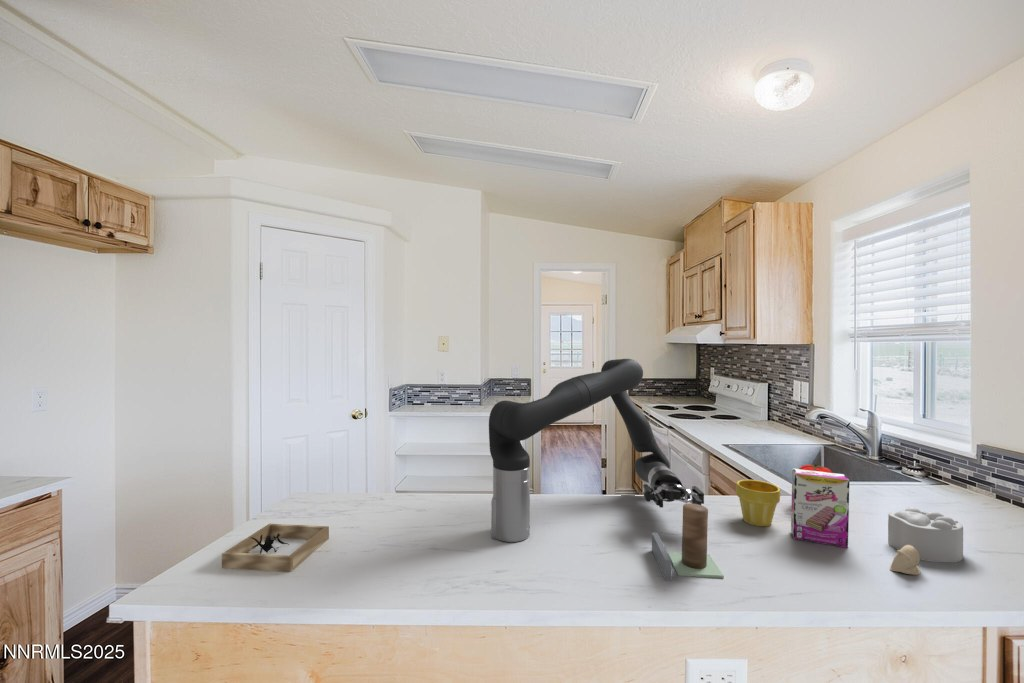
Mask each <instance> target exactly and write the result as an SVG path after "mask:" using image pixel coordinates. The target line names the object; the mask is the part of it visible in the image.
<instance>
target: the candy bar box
mask: <svg viewBox="0 0 1024 683" xmlns="http://www.w3.org/2000/svg"><path fill="white" fill-rule="evenodd" d="M849 509H850V479H849V478H848V477H847V476H846V475H845V474H844V473H835V472H833V473H828V472H819V471H811V470H802V469H799V468H792V469H791V510H790V512H791V514H790V518H791V520H790V524H791V525H790V531H791V534H792V538H793V539H794V540H799V541H806V542H811V543H817V544H823V545H828V546H835V547H841V548H846V549H847V548H848V547H849V520H850V518H849V517H850V515H849V514H850V510H849Z"/></svg>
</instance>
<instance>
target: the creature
mask: <svg viewBox="0 0 1024 683" xmlns="http://www.w3.org/2000/svg"><path fill="white" fill-rule="evenodd" d="M271 529H272V528H271ZM270 533H271V532H270ZM279 536H280V535H279V533H278V534H277V537H275V536H273V537H271V536H270V535H269V536H267V537H266V540H265V541H264V542H263V543H261V542H262V535H261V536H260V542H259V541H258V540H257V539H255V538H253V537H251V538H252V539H254V540H255V541H256V542H257V543H258V544H257V545H255V546H253V547H255V548H257V547H259V548H260V550H259V552H260V553H259V554H262V552H263V551H264V552H265V553H266V554H268V553H269V552H270V550H272V549H273V550H274V553H277V551H278V550H279V547H280V546H278V547H274V546H273V544H274V543H275V541H278V543H279V544H281V545H288V546H289V545H290V543H288V542H284V541H282V540H281V539H280V538H279ZM251 538H250V539H251ZM253 547H252V548H253ZM262 550H263V551H262Z"/></svg>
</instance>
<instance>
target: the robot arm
mask: <svg viewBox="0 0 1024 683" xmlns="http://www.w3.org/2000/svg"><path fill="white" fill-rule="evenodd" d="M643 377H644V369H643V367H642V365H641V364H640V363H639V362H638V361H637V360H635V359H631V358H621V359H619V358H618V359H609V360H607V361H605V362H604V363H603V364H602V366H601V370H600V371H597V372H592V373H591V372H590V373H586V374H580V375H578V376H574V377H571V378H569V379H566V380H564V381H561V382H559V383H558V384H556V385H555V386H554V387H552V389H551V390H550V392H549V393H548V394H547V395H546V396H544V397H542V398H539V399H537V400H533V401H530V402H524V403H523V402H517V401H511V400H501V401H497V403H495V404H494V405H493V406H492V408H491V411H490V414H489V417H488V418H489V419H488V439H489V440H488V443H489V453H490V455H491V456H490V457H491V460H492V498H491V503H490V504H491V511H490V512H491V514H490V515H491V517H490V518H491V519H490V520H491V528H490V529H491V532H490V533H491V539H495V540H498V541H501V542H507V543H508V542H509V543H516V542H521V541H525V540H527V539H528V538H529V537H530V535H531V534H530V533H531V532H530V531H531V525H530V524H531V522H530V521H531V520H530V519H531V518H530V517H531V516H530V515H531V512H530V511H531V510H530V508H531V507H530V506H531V505H530V504H531V502H530V501H531V496H530V495H531V493H530V492H531V490H530V486H531V479H530V478H531V476H530V474H531V469H530V468H531V466H530V465H531V461H530V454H529V452H527V450H526V449H525V448H524V447H523V445H522V443H521V441H525V440H528V439H529V438H531V437H533V436H534V435H536V434H538V433H539V432H541V431H542V430H544V429H546V428H547V427H549V426H551V425H552V424H554V423H557V422H558V421H561V420H564V419H566V418H568V417H570V416H573V415H574V414H577V413H580V412H581V411H584V410H586V409H588V408H590V407H592V406H594V405H596V404H598V403H600V402H602V401H604V400H605V399H607V398H609V397H611V400H612V402H613V404H614V405H615V407H616V409H617V411H618V413H619V415H620V416H621V418H622V420H623V423H624V425H625V428H626V430H627V432H628V436H629V438H630V441H631V444H632V446H633V450H635V452H637V453H650V454H647V455H644V456H640V457H639V458H637V459H635V462H634V465H633V466H634V470H635V473H636V475H637V476H638V478H639V479H641V480H642V481H643V482H646V483H647V484H646V483H645V484H643V485H642V486H643V490H642V491H643V492H642V493H643V494H642V495H643V497H644V500H645V501H646V502H651V501H653V503H654V504H655V505H656V506H658V507H659V508H660V509H661V508H664V502H666V503H667V502H668V503H670V502H675V501H676V502H677V501H679V502H682V503H684V504H689V503H692V504H699V505H704V504H705V493H704V492H703V491H702V490H701V489H700V488H698V487H697V486H696V485H694V486H691V488H687V487H686V486H684V485H683V484H682V481H681V480H680V479H679V477H678V476H677V475H676V473H674V472H673V470H671V463H670V460H669V459H668V457H667V456H666V454H665V453H664V452H663V450H661V448H660V446H659V444H658V443H657V441H656V438H655V436H654V435H655V434H654V432H653V429H652V427H651V424H650V423H649V420H648V418H647V417H646V416H645V414H644V413H643V412H642V411H641V410H640V409H639V407H638V406H637V405H636V404H635V403H634V401H633V400H632V399H631V397H630V396H629V395H630V394H629V393H628V391H629V390H633V389H635V388H636V387H638V386H639V385H640V383H641V382H642V380H643Z"/></svg>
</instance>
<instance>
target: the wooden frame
mask: <svg viewBox="0 0 1024 683" xmlns="http://www.w3.org/2000/svg"><path fill="white" fill-rule="evenodd" d="M271 528H272V529H271ZM270 532H271V533H270ZM278 533H279V535H280V536H279V539H280V538H281V539H282V538H283V539H297V540H299V539H301V540H307V541H305V542H304V543H303V544H302V545H300V547H298V548H297V549H296V550H294V551H293V552H292V553H291V554H289V555H284V554H268V553H266V554H265V553H261V554H260V553H249V552H251V551H252V550H254V549H256V547H253V546H255V545H257V544H258V543H257V542H256V541H255V540H254V539H252V538H251V537H253V538H255V539H257V540H258V541H259V542H260V536H261V535H262V542H261V544H264V543H265V540H266V537H267V536H269V535H270V536H271V538H274V537H273V536H275V537H277V534H278ZM250 538H251V539H250ZM329 539H330V526H327V525H326V526H325V525H309V524H308V525H305V524H287V523H286V524H285V523H268V524H266V525H265V526H263V527H262V528H260V529H258V530H257V531H256V532H254V533H252V534H251V535H249V536H247V537H246V538H244V539H243V540H240V541H239V542H238V543H237V544H235V545H233V546H232V547H230V548H229V549H227V550H226V551H224V552H223V553H221V568H222V569H234V570H235V569H236V570H238V569H239V570H252V571H253V570H255V571H269V572H271V571H272V572H273V571H274V572H286V573H287V572H289V573H291V572H292V571H293V570H295V569H296V568H298V566H299V565H300V564H302V563H303V562H304V561H305V560H307V558H308V557H310V556H311V555H312V554H313V553H314V552H315V551H316V550H317V549H319V548H320V547H321V546H322V545H324V544H325V543H326V542H327V541H328V540H329ZM252 547H253V548H252Z"/></svg>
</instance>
